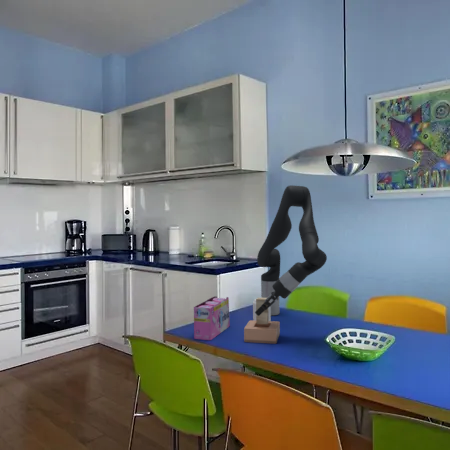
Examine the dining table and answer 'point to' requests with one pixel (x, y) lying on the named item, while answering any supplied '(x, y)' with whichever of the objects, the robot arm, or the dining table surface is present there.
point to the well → (262, 332)
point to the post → (264, 315)
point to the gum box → (211, 318)
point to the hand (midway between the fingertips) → (257, 312)
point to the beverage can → (255, 311)
